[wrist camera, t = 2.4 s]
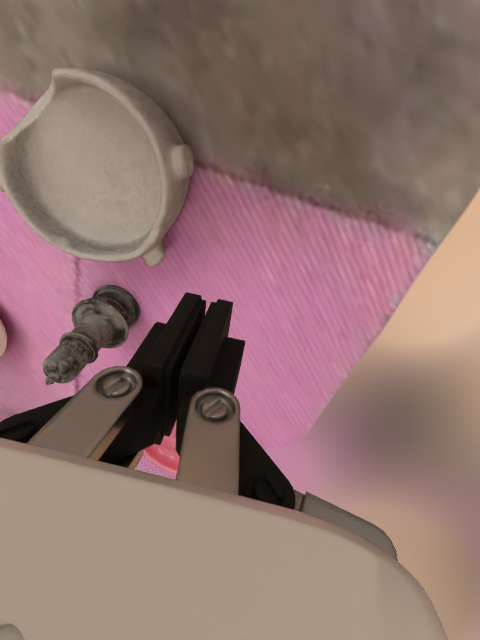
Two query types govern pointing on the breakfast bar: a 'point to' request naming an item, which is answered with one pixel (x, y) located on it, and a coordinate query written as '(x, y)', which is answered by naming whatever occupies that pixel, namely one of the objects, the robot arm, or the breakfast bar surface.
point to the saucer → (164, 453)
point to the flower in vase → (2, 338)
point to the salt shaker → (92, 332)
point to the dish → (97, 168)
